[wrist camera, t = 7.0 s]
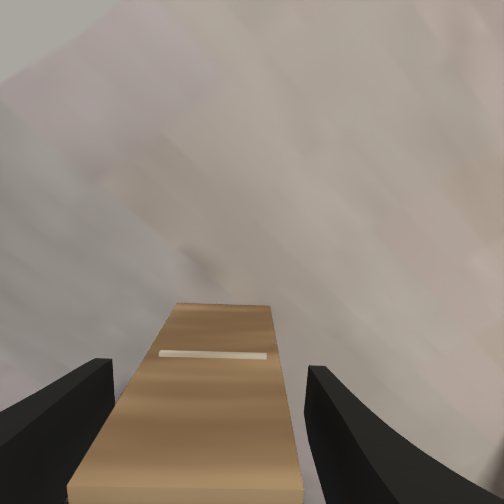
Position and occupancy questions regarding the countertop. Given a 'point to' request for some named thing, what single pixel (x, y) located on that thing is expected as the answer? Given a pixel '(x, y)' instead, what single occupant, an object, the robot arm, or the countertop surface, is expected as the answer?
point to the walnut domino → (199, 419)
